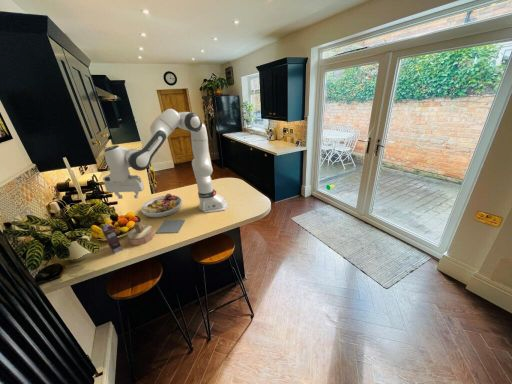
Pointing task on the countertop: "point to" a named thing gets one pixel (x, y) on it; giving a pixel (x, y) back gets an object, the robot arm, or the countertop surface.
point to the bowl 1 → (142, 239)
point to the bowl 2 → (161, 206)
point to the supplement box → (111, 238)
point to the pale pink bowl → (139, 231)
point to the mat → (170, 226)
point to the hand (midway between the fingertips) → (128, 198)
